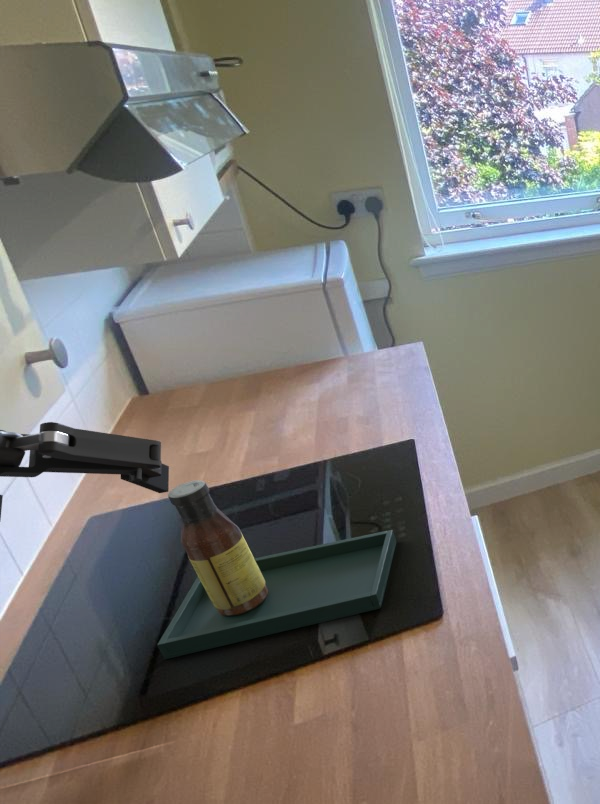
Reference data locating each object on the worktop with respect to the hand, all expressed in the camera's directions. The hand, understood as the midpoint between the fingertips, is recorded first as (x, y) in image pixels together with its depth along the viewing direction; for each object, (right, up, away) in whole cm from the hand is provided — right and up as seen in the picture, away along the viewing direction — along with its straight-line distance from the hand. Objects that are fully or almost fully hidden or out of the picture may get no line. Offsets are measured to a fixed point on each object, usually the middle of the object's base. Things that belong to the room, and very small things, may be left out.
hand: (83, 494), depth 73 cm
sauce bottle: (-8, -22, +31) cm, 39 cm away
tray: (-2, -21, +33) cm, 39 cm away
